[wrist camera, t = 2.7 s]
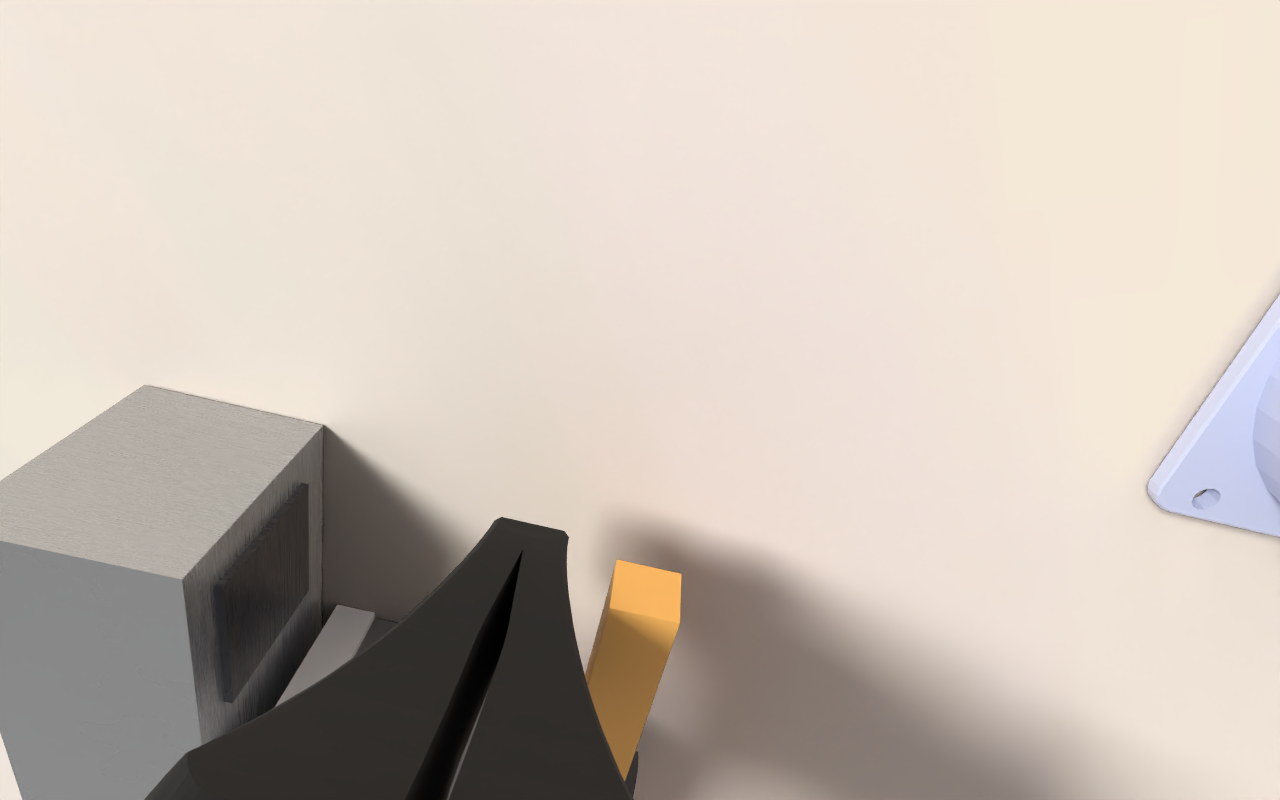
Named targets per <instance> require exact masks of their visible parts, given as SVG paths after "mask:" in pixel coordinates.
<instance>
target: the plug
mask: <svg viewBox="0 0 1280 800" xmlns="http://www.w3.org/2000/svg"><path fill="white" fill-rule="evenodd" d="M396 624H397V623H396V622H391V621H386V620H382V619H377V618H375V613H374V612H370V611H365V610H360V609H356V608H351V607H346V606H342V605H337V606H336V608H335V609H334V611H333V613H332V614H331V616H330V618H329V619H328V621H327V622H326V624H325V626H324V627H323V629H322V631H321V632H320V634H319V636H318V637H317V639H316V640H315V642H314V644H313V645H312V647H311V649H310V650H309V652H308V654H307V655H306V657H305V658H304V660H303V662H302V663H301V665H300V667H299V668H298V670H297V672H296V673H295V675H294V677H293V678H292V680H291V681H290V683H289V685H288V686H287V688H286V690H285V691H284V693H283V695H282V696H281V698H280V699H279V701H278V703H277V704H276V706H278V705H279V704H281V703H283V702H285V701H286V700H288V699H290V698H291V697H293V696H295V695H296V694H298V693H300V692H302V691H303V690H305V689H307V688H308V687H310V686H312V685H313V684H315V683H316V682H318V681H320V680H321V679H323V678H324V677H326V676H327V675H329V674H330V673H332V672H333V671H335V670H336V669H338V668H339V667H340V666H342V665H343V664H345V663H346V662H347V661H349V660H350V659H352V658H353V657H355V656H356V655H357V654H359V653H360V652H362V651H363V650H364V649H366V648H367V647H368V646H370V645H371V644H372V643H374V642H375V641H376V640H377V639H379V638H380V637H381V636H383V635H384V634H385V633H386V632H388V631H389V630H390V629H391V628H392V627H394V626H395V625H396ZM487 693H488V692H487ZM486 696H487V695H486ZM485 699H486V697H485ZM484 702H485V700H484ZM484 702H483V705H484ZM483 705H482V707H481V710H482V708H483ZM276 706H275V707H276ZM481 710H480V712H479V715H478V717H477V720H476V722H475V725H474V727H473V730H472V732H471V735H470V737H469V740H468V742H467V745H466V747H465V749H464V752H463V754H462V757H461V760H460V762H459V765H458V768H457V771H456V774H455V776H454V779H453V782H452V785H451V788H450V792H449V795H448V798H447V800H449V797H450V795H451V792H452V789H453V787H454V784H455V782H456V779H457V776H458V774H459V771H460V769H461V766H462V763H463V760H464V758H465V755H466V752H467V749H468V747H469V744H470V741H471V738H472V736H473V733H474V730H475V727H476V725H477V722H478V719H479V716H480V713H481ZM637 769H638V752H636V751H635V754H634V757H633V760H632V762H631V765H630V768H629V771H628V774H627V777H626V780H625V783H626V786H627V788H628V790H629V792H630V794H631V796H632V798H633V794H634V789H635V783H636V777H637Z"/></svg>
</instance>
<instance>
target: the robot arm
mask: <svg viewBox="0 0 1280 800" xmlns="http://www.w3.org/2000/svg"><path fill="white" fill-rule="evenodd" d="M1147 488H1148V494H1149V496H1150V497H1151V498H1152V500H1153V501H1154V502H1155V503H1156V504H1157V505H1158V506H1159V507H1160V508H1161V509H1164V510H1166V511H1168V512H1172V513H1177V514H1181V515H1185V516H1190V517H1194V518H1198V519H1203V520H1207V521H1211V522H1216V523H1220V524H1224V525H1228V526H1233V527H1237V528H1241V529H1246V530H1250V531H1254V532H1259V533H1263V534H1267V535H1271V536H1276V537H1280V294H1279V296H1278V297H1277V299H1276V300H1275V302H1274V303H1273V305H1272V306H1271V307H1270V309H1269V310H1268V312H1267V313H1266V315H1265V316H1264V317H1263V319H1262V320H1261V322H1260V323H1259V325H1258V326H1257V327H1256V329H1255V330H1254V332H1253V333H1252V335H1251V336H1250V337H1249V339H1248V340H1247V342H1246V343H1245V345H1244V346H1243V347H1242V349H1241V350H1240V352H1239V353H1238V355H1237V356H1236V357H1235V359H1234V360H1233V362H1232V363H1231V365H1230V366H1229V368H1228V369H1227V370H1226V372H1225V373H1224V375H1223V376H1222V378H1221V379H1220V380H1219V382H1218V383H1217V385H1216V386H1215V388H1214V389H1213V390H1212V392H1211V393H1210V395H1209V396H1208V398H1207V399H1206V400H1205V402H1204V403H1203V405H1202V406H1201V408H1200V409H1199V410H1198V412H1197V413H1196V415H1195V416H1194V418H1193V419H1192V420H1191V422H1190V423H1189V425H1188V426H1187V428H1186V429H1185V431H1184V432H1183V433H1182V435H1181V436H1180V438H1179V439H1178V441H1177V442H1176V443H1175V445H1174V446H1173V448H1172V449H1171V451H1170V452H1169V453H1168V455H1167V456H1166V458H1165V459H1164V461H1163V462H1162V463H1161V465H1160V466H1159V468H1158V469H1157V471H1156V472H1155V473H1154V475H1153V476H1152V478H1151V479H1150V482H1149V484H1148V486H1147ZM1205 489H1207V490H1206V492H1204V493H1203V494H1202V495H1201V496H1198V497H1196V498H1193V497H1194V496H1195V495H1196V494H1197V493H1198V492H1200V491H1202V490H1205ZM568 539H569V537H568V535H567V534H566V533H565V531H561V530H557V529H553V528H548V527H544V526H539V525H535V524H530V523H526V522H521V521H517V520H513V519H508V518H504V517H501V518H499V519H497V520H495V521H494V522H493V524H492V525H491V527H490V528H489V530H488V531H487V532H486V534H485V535H484V536H483V538H482V539H481V540H480V541H479V543H478V544H477V545H476V546H475V547H474V549H473V550H472V551H471V552H470V553H469V554H468V555H467V557H466V558H465V559H464V560H463V561H462V562H461V563H460V564H459V565H458V566H457V567H456V568H455V569H454V570H453V572H452V573H451V574H450V575H449V576H448V577H447V578H446V579H445V580H444V581H443V582H442V583H441V584H440V585H439V586H438V587H437V588H436V589H435V590H434V591H433V592H432V593H431V594H430V595H428V596H427V597H426V598H425V599H424V600H423V601H422V602H421V603H420V604H419V605H418V606H416V607H415V608H414V609H413V610H412V611H411V612H410V613H409V614H408V615H407V616H406V617H404V618H403V619H402V620H401V621H400V622H398V623H397V624H396V625H395V626H394V627H392V628H391V629H390V630H389V631H388V632H386V633H385V634H384V635H383V636H381V637H380V638H379V639H377V640H376V641H375V642H374V643H372V644H371V645H370V646H368V647H367V648H366V649H364V650H363V651H362V652H360V653H359V654H357V655H356V656H355V657H353V658H352V659H350V660H349V661H347V662H346V663H345V664H343V665H342V666H340V667H339V668H338V669H336V670H335V671H333V672H332V673H330V674H329V675H327V676H326V677H324V678H323V679H321V680H320V681H318V682H316V683H315V684H313V685H312V686H310V687H308V688H307V689H305V690H303V691H302V692H300V693H298V694H296V695H295V696H293V697H291V698H290V699H288V700H286V701H285V702H283V703H281V704H279V705H278V706H276V707H274V708H273V709H271V710H269V711H268V712H266V713H264V714H262V715H260V716H259V717H257V718H255V719H253V720H251V721H249V722H247V723H245V724H243V725H241V726H239V727H237V728H235V729H233V730H231V731H229V732H227V733H225V734H223V735H221V736H219V737H217V738H215V739H213V740H211V741H209V742H207V743H205V744H203V745H201V746H199V747H197V748H195V749H193V750H191V751H189V752H187V753H185V755H184V756H183V757H182V758H181V759H180V760H179V761H178V762H177V763H176V764H175V765H174V766H173V767H172V768H171V769H170V771H169V772H168V773H167V774H166V775H165V776H164V777H163V778H162V780H161V781H160V782H159V783H158V784H157V785H156V787H155V788H154V789H153V790H152V791H151V792H150V793H149V794H148V796H147V797H146V798H145V799H144V800H447V798H448V795H449V792H450V788H451V785H452V782H453V779H454V776H455V774H456V771H457V768H458V765H459V762H460V760H461V757H462V754H463V752H464V749H465V747H466V745H467V742H468V740H469V737H470V735H471V732H472V730H473V727H474V725H475V722H476V720H477V717H478V715H479V712H480V710H481V707H482V705H483V702H484V700H485V702H484V705H483V708H482V710H481V713H480V716H479V719H478V722H477V725H476V727H475V730H474V733H473V736H472V738H471V741H470V744H469V747H468V749H467V752H466V755H465V758H464V760H463V763H462V766H461V769H460V771H459V774H458V776H457V779H456V782H455V784H454V787H453V789H452V792H451V795H450V797H449V800H633V798H632V796H631V794H630V792H629V790H628V788H627V786H626V783H625V781H624V779H623V777H622V775H621V773H620V771H619V768H618V766H617V763H616V761H615V759H614V756H613V754H612V751H611V749H610V747H609V744H608V742H607V739H606V737H605V735H604V732H603V730H602V727H601V725H600V722H599V719H598V716H597V713H596V710H595V707H594V704H593V701H592V698H591V695H590V692H589V688H588V685H587V682H586V678H585V675H584V671H583V667H582V663H581V659H580V655H579V651H578V646H577V642H576V637H575V632H574V627H573V621H572V614H571V607H570V601H569V593H568V582H567V545H568ZM487 692H488V693H487ZM486 695H487V696H486ZM485 697H486V699H485Z"/></svg>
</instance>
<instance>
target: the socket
mask: <svg viewBox="0 0 1280 800" xmlns="http://www.w3.org/2000/svg"><path fill="white" fill-rule="evenodd" d="M322 498H323V425H320V424H316V423H311V422H307V421H302V420H298V419H294V418H289V417H285V416H280V415H276V414H271V413H267V412H262V411H258V410H254V409H249V408H245V407H240V406H236V405H231V404H227V403H223V402H218V401H214V400H209V399H205V398H200V397H196V396H192V395H187V394H183V393H178V392H174V391H169V390H165V389H161V388H156V387H152V386H147V385H143V386H142V387H140V388H139V389H137V390H136V391H134V392H133V393H131V394H130V395H128V396H127V397H125V398H124V399H122V400H121V401H119V402H118V403H116V404H115V405H114V406H112V407H110V408H109V409H108V410H106V411H105V412H103V413H102V414H100V415H99V416H97V417H96V418H94V419H93V420H91V421H90V422H88V423H87V424H85V425H84V426H82V427H81V428H79V429H78V430H76V431H75V432H73V433H72V434H70V435H69V436H67V437H66V438H64V439H63V440H61V441H60V442H58V443H57V444H55V445H54V446H52V447H51V448H49V449H48V450H46V451H45V452H43V453H42V454H40V455H39V456H37V457H36V458H34V459H33V460H31V461H30V462H28V463H27V464H25V465H24V466H22V467H21V468H19V469H18V470H16V471H15V472H13V473H12V474H10V475H9V476H7V477H6V478H4V479H3V480H1V481H0V733H1V736H2V739H3V742H4V745H5V748H6V751H7V754H8V757H9V760H10V763H11V766H12V769H13V772H14V775H15V778H16V781H17V784H18V787H19V790H20V793H21V796H22V800H144V799H145V798H146V797H147V796H148V794H149V793H150V792H151V791H152V790H153V789H154V788H155V787H156V785H157V784H158V783H159V782H160V781H161V780H162V778H163V777H164V776H165V775H166V774H167V773H168V772H169V771H170V769H171V768H172V767H173V766H174V765H175V764H176V763H177V762H178V761H179V760H180V759H181V758H182V757H183V756H184V755H185V753H187V752H189V751H191V750H193V749H195V748H197V747H199V746H201V745H203V744H205V743H207V742H209V741H211V740H213V739H215V738H217V737H219V736H221V735H223V734H225V733H227V732H229V731H231V730H233V729H235V728H237V727H239V726H241V725H243V724H245V723H247V722H249V721H251V720H253V719H255V718H257V717H259V716H260V715H262V714H264V713H266V712H268V711H269V710H271V709H273V708H274V707H275V706H276V704H277V703H278V701H279V699H280V698H281V696H282V695H283V693H284V691H285V690H286V688H287V686H288V685H289V683H290V681H291V680H292V678H293V677H294V675H295V673H296V672H297V670H298V668H299V667H300V665H301V663H302V662H303V660H304V658H305V657H306V655H307V654H308V652H309V650H310V649H311V647H312V645H313V644H314V642H315V640H316V639H317V637H318V636H319V634H320V632H321V607H322Z"/></svg>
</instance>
